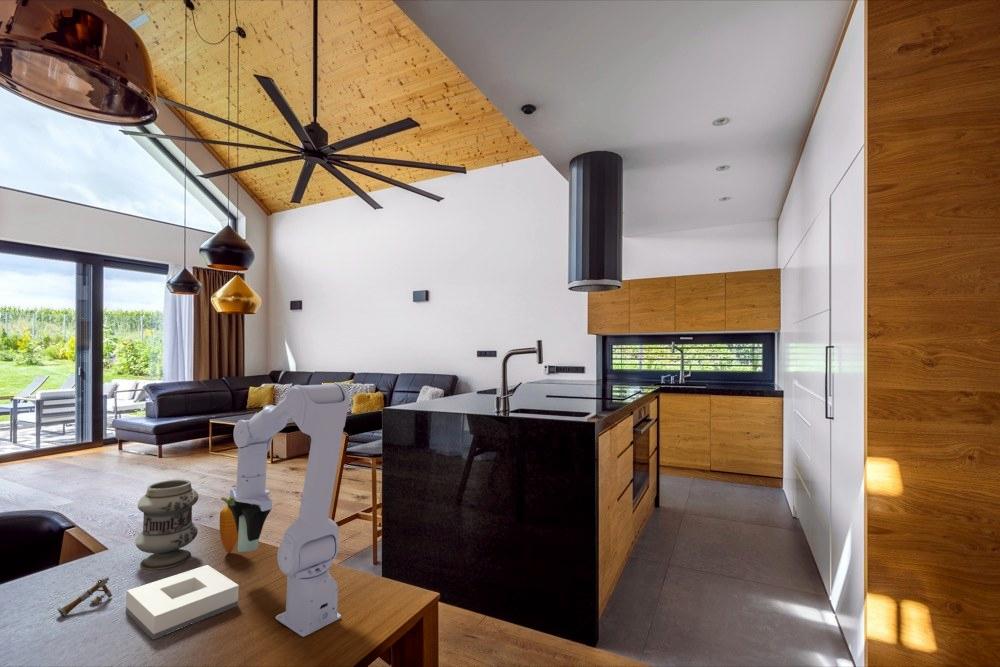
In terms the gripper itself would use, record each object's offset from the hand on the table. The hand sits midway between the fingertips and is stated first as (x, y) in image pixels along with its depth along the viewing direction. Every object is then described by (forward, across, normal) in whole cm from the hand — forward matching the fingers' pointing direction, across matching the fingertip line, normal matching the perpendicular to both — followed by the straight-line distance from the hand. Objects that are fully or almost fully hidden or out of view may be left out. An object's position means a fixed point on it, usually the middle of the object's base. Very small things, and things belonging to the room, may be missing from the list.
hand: (248, 536), depth 102 cm
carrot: (+10, +17, -4) cm, 20 cm away
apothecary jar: (+10, +24, +7) cm, 27 cm away
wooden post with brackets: (+10, +13, +24) cm, 29 cm away
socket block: (+9, -2, +13) cm, 16 cm away
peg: (+2, 0, 0) cm, 2 cm away
